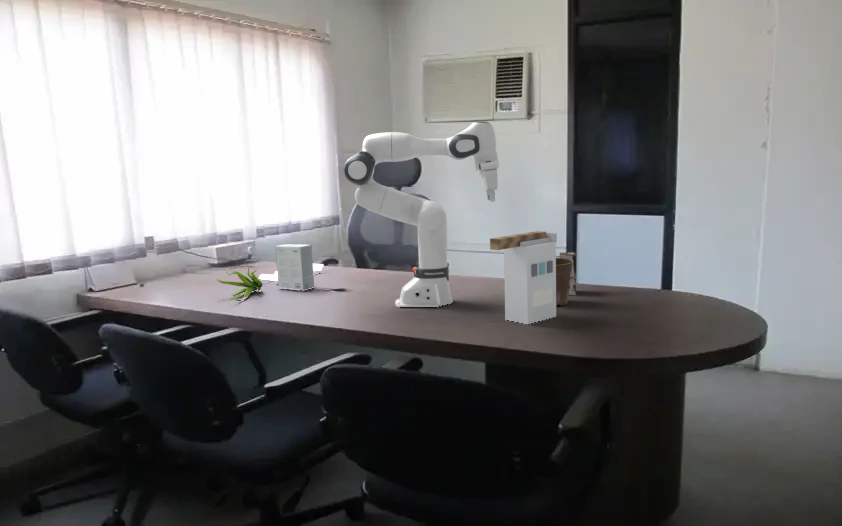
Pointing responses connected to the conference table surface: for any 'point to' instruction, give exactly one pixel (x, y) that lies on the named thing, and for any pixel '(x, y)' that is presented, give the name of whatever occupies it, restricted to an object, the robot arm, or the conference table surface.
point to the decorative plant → (245, 283)
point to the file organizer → (275, 277)
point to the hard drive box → (295, 266)
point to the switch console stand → (531, 280)
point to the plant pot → (562, 280)
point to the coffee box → (573, 273)
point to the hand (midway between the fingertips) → (491, 200)
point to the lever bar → (514, 240)
